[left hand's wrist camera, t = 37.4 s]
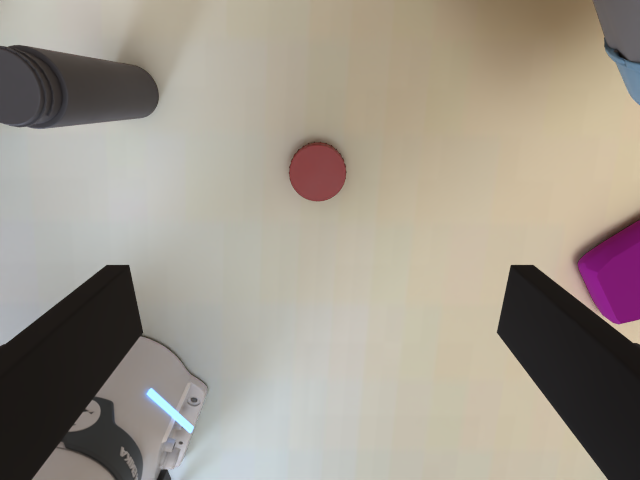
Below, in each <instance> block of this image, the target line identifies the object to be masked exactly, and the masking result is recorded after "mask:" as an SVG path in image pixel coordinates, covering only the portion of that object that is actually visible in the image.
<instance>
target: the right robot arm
mask: <svg viewBox="0 0 640 480" xmlns="http://www.w3.org/2000/svg"><path fill="white" fill-rule="evenodd" d="M207 392H208V389H207V386H206V385H205V384H204V383H203V382H202V381H200V380H199V379H197V378H196V377H194V376H193V375H191V374H190V373H189V372H188V371H187V369H186V368H185V366H184V365H183V364H182V362H181V361H180V360H179V359H178V357H177V356H176V355H175V354H174V353H172V352H171V351H170V350H169V349H167V348H166V347H164V346H163V345H161V344H159V343H157V342H155V341H153V340H151V339H148V338H145V337H142V336H140V337H139V339H138V340H137V341H136V343H135V344H134V345H133V347H132V348H131V349H130V350H129V352H128V353H127V354H126V356H125V357H124V358H123V360H122V361H121V362H120V364H119V365H118V366H117V368H116V369H115V370H114V372H113V373H112V374H111V376H110V377H109V378H108V380H107V381H106V382H105V384H104V385H103V386H102V388H101V389H100V390H99V392H98V393H97V394H96V395H95V397H94V398H93V399H92V401H91V402H90V403H89V405H88V406H87V407H86V409H85V410H84V411H83V413H82V414H81V415H80V417H79V418H78V419H77V421H76V422H75V423H74V425H73V426H72V427H71V429H70V430H69V431H68V433H67V434H66V435H65V436H64V438H63V439H62V440H61V442H60V443H59V444H58V446H57V447H56V448H55V450H54V451H53V452H52V454H51V455H50V456H49V458H48V459H47V460H46V462H45V463H44V464H43V466H42V467H41V468H40V470H39V471H38V472H37V474H36V475H35V476H34V478H33V479H32V480H171V477H170V475H169V472H168V469H174V468H176V467H178V466H180V464H181V462H182V460H183V458H184V456H185V453H186V451H187V448H188V445H189V442H190V439H191V437H192V434H193V431H194V428H195V426H196V423H197V420H198V417H199V414H200V412H201V409H202V406H203V403H204V400H205V398H206V395H207Z"/></svg>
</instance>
